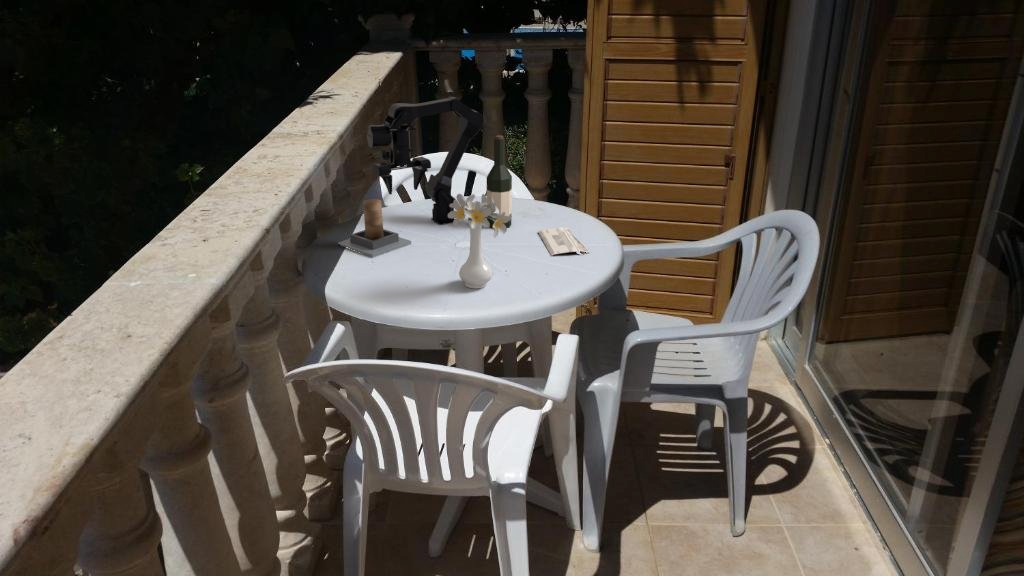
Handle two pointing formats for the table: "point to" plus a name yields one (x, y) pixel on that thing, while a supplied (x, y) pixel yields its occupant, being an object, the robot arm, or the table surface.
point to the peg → (373, 219)
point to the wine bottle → (500, 182)
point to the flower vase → (477, 236)
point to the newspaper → (561, 241)
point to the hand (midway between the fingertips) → (403, 191)
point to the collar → (375, 243)
